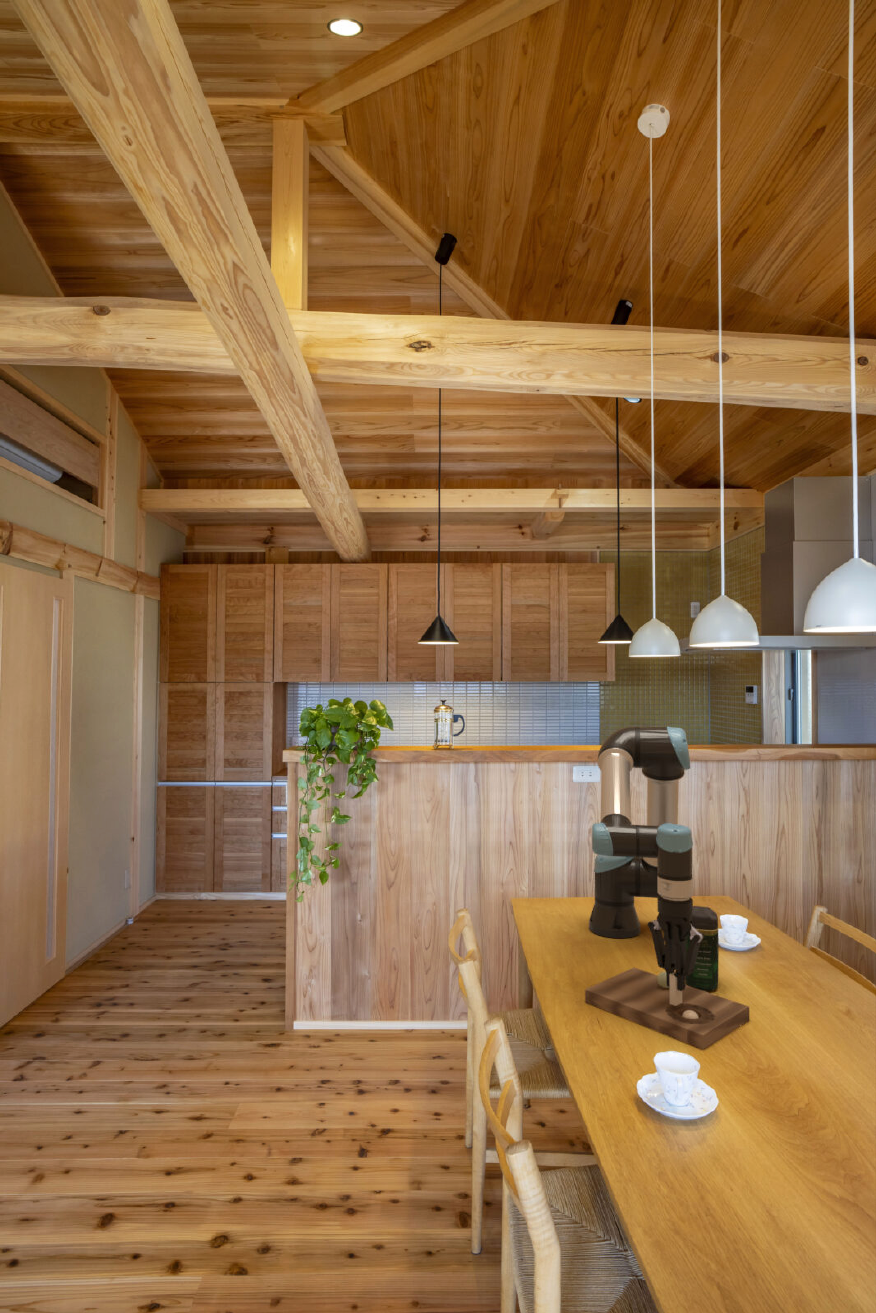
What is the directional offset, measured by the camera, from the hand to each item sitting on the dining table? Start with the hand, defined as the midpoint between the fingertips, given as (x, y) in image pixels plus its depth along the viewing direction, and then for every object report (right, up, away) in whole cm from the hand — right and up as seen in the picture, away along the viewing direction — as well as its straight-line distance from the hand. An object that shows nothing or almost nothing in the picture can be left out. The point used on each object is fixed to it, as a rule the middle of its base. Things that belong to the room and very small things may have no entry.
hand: (676, 1002), depth 166 cm
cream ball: (+2, -2, -3) cm, 4 cm away
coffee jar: (+13, -5, +20) cm, 24 cm away
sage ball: (+1, 0, +11) cm, 11 cm away
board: (-1, -4, +5) cm, 7 cm away
